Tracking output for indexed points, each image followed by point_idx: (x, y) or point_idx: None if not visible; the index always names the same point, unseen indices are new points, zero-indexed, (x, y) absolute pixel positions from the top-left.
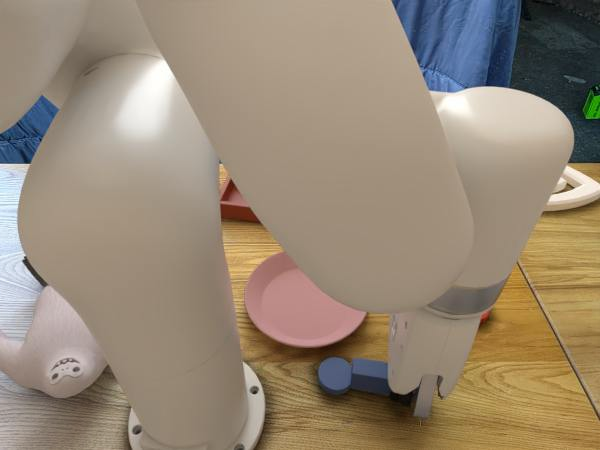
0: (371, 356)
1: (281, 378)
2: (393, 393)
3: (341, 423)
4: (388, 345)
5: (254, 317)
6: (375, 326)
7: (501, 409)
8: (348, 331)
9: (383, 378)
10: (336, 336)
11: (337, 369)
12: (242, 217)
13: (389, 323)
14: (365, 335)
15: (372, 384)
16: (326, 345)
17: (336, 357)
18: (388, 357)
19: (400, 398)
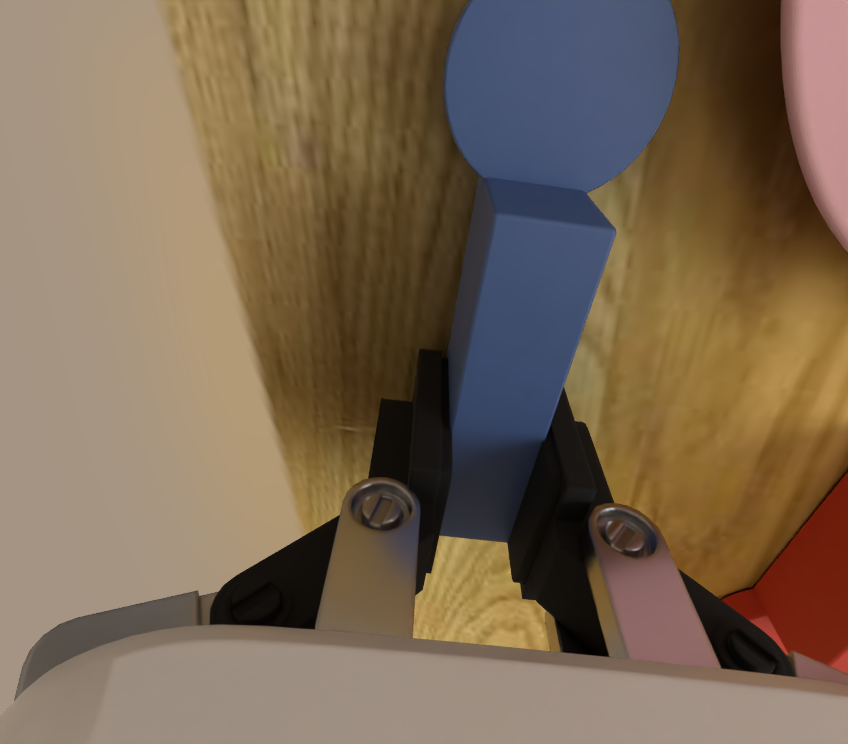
0: (650, 287)
1: None
2: (416, 390)
3: (292, 111)
4: (527, 679)
5: None
6: (817, 320)
7: (415, 608)
8: (842, 189)
9: (460, 383)
10: (834, 95)
11: (582, 96)
12: None
13: (772, 732)
14: (781, 268)
15: (464, 302)
16: (781, 5)
17: (670, 91)
18: (380, 690)
19: (379, 424)
